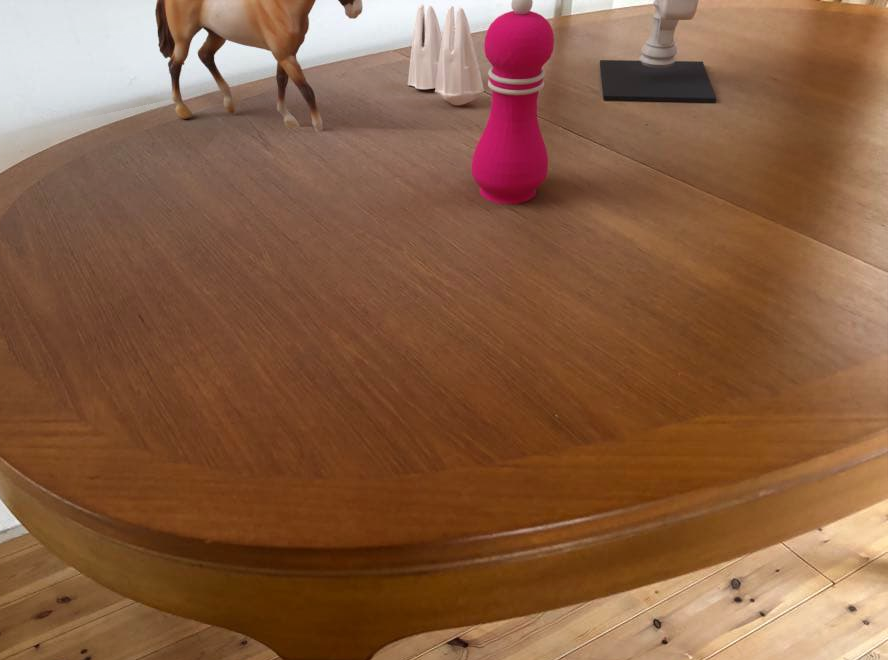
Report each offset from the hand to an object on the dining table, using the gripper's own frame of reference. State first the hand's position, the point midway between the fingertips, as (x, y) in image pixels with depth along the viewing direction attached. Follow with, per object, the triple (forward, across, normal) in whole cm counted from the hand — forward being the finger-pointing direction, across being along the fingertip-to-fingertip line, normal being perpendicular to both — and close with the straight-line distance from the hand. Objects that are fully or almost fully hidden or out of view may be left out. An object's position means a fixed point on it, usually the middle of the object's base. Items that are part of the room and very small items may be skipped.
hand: (662, 37), depth 108 cm
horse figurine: (+6, -14, +47) cm, 50 cm away
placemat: (+6, 0, 0) cm, 6 cm away
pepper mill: (+6, -36, +17) cm, 40 cm away
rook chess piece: (+3, 0, 0) cm, 3 cm away
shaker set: (+6, -6, +26) cm, 27 cm away
